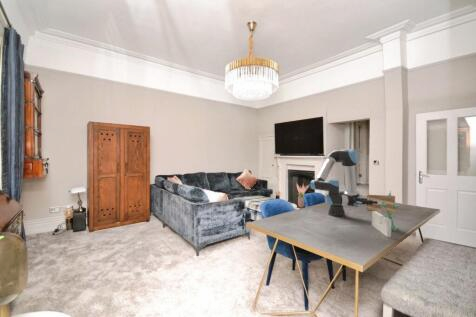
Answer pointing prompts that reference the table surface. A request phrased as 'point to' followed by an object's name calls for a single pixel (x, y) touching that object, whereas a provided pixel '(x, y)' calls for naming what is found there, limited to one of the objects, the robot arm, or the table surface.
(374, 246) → the table surface
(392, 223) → the hanging basket ornament
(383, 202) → the tan faceted tapered block
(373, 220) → the cream slotted board
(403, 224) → the table surface
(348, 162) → the robot arm
